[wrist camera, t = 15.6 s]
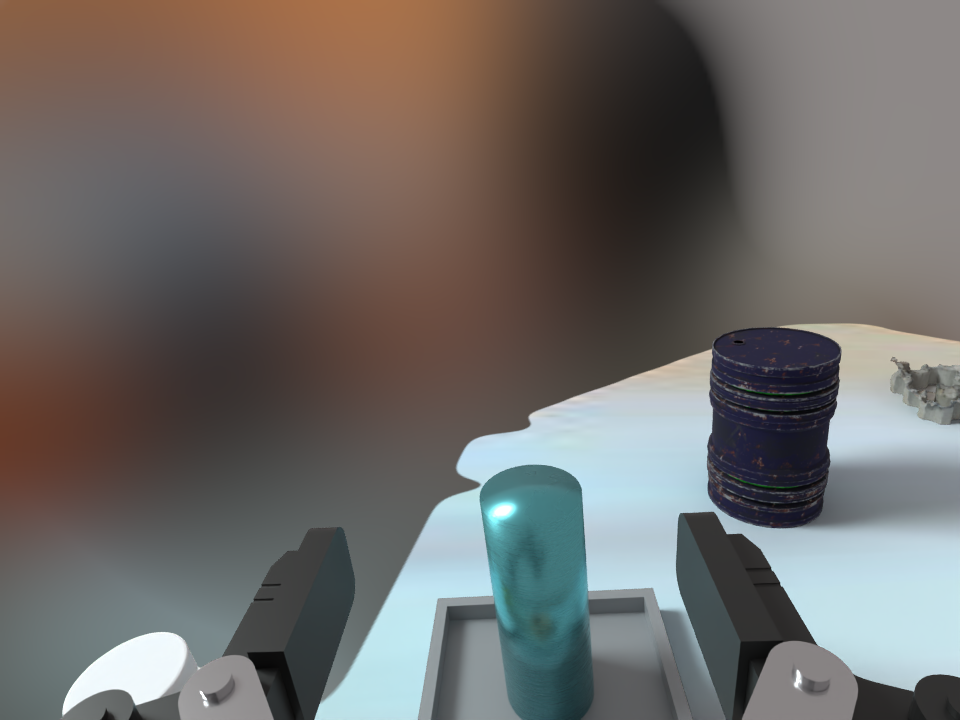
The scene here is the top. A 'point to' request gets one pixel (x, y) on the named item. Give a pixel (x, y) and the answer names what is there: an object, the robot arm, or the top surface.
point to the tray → (615, 657)
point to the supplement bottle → (138, 670)
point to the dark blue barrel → (771, 424)
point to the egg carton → (952, 399)
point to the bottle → (540, 590)
